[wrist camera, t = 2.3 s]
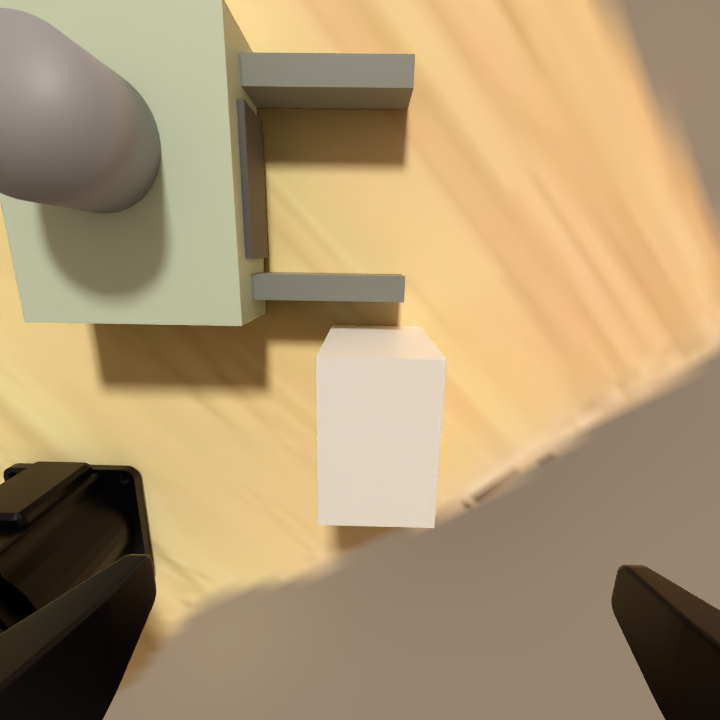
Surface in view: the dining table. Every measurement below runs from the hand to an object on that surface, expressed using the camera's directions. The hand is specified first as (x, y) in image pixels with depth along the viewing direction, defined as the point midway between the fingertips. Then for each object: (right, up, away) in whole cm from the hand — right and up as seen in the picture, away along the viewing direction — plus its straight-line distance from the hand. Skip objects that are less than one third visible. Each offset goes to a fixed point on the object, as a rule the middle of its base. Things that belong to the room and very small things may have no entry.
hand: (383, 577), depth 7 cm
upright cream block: (0, +3, +11) cm, 11 cm away
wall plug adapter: (-6, +11, +9) cm, 15 cm away
